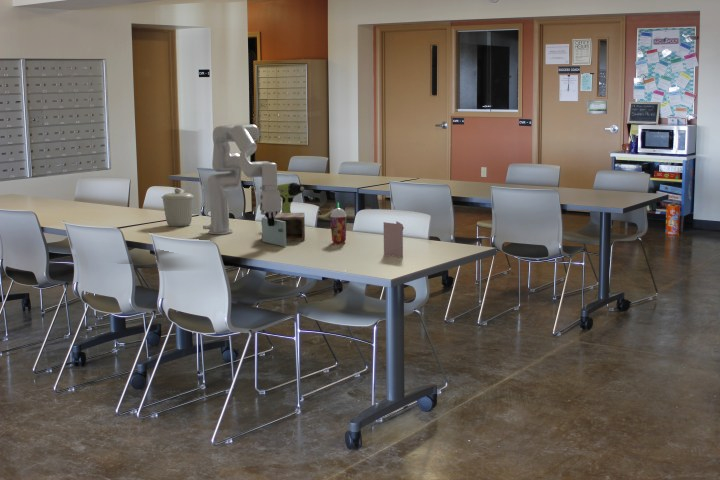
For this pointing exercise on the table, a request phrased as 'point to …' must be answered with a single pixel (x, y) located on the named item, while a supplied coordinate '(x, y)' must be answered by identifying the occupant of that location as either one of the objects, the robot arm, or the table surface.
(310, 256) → the table surface
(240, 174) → the robot arm
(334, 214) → the smoothie
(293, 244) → the table surface
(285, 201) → the cordless drill
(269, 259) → the table surface
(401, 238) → the greeting card
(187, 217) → the canister
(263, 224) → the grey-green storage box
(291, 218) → the cabinet
